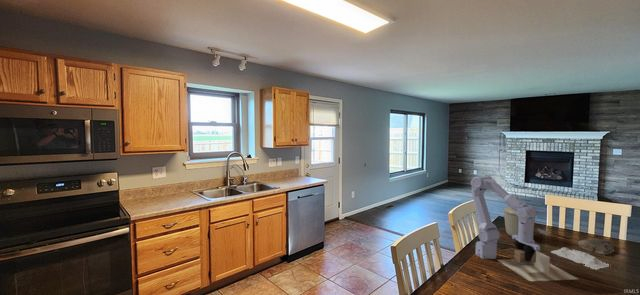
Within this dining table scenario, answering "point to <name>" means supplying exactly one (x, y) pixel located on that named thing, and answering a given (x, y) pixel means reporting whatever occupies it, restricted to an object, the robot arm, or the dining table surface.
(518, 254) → the brown rectangular block
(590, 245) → the clay tablet
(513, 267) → the board
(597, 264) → the terrain model
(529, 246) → the robot arm
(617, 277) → the dining table surface
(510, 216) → the canister
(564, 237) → the cleaver
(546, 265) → the tile
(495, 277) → the dining table surface
